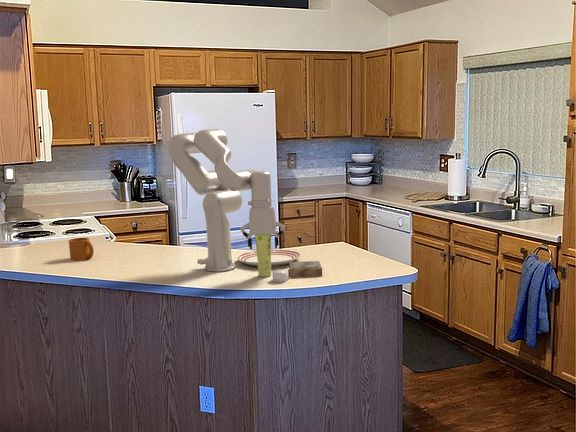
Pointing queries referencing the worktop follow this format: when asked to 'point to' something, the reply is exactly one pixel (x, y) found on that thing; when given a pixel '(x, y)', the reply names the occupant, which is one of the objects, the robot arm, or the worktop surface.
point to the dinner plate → (277, 257)
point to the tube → (263, 254)
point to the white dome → (280, 275)
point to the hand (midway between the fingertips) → (263, 248)
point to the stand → (305, 269)
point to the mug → (80, 249)
